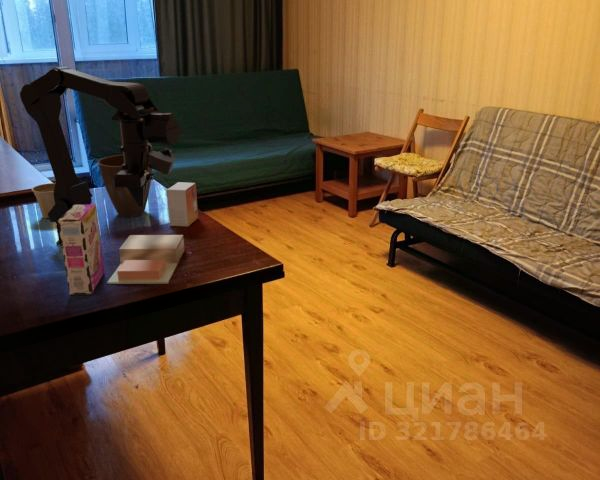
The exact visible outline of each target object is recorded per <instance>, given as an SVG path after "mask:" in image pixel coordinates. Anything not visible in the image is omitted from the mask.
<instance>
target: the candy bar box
mask: <svg viewBox="0 0 600 480" xmlns="http://www.w3.org/2000/svg"><path fill="white" fill-rule="evenodd" d="M97 211H98V210H97V204H95V203H91V204H81V205H73V207H71V208H70V209H69V210H68V211H67V212H66V213H65V214H64V215H63V216H62V217H61V218H60V219H59V220H58V224H59V230H60V237H61V243H62V244H61V248H62V249H61V250H62V254H63V260H64V261H63V262H64V266H65V274H66V282H67V287H68V294H69V295H71V296H72V295H73V296H77V295H78V296H80V295H92V294H94V291H95V290H96V288H97V286H98V284H99V282H100V281H101V279H102V277H103V276H104V274H105V266H104V258H103V250H102V242H101V235H100V233H101V232H100V225H99V219H98V212H97Z"/></svg>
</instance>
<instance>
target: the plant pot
mask: <svg viewBox="0 0 600 480" xmlns="http://www.w3.org/2000/svg"><path fill="white" fill-rule="evenodd" d="M97 164H98V167H99V172H100V175H101V178H102V182H103V185H104V187H105V189H106V190H105V191H106V192H107V194H108V197H109V199H110V201H111V203H112V206H113V208H114V209H115V211H116V213H117V214H118V216H119V217H123V218H133V217H138V216H141V215H143V214H144V213H145V210H146V206H147V202H148V199H149V195H150V189H151V183H152V179H151V180H150V181H149V182H148V185H147V190H146V196H145V202H144V205H143V206H138V204H137V203H136V201H135V200H134V198H133V196H132V195H131V193H130V192H129V190H128V189H127V187H114V186H113V179H112V178H113V177H114V176H115V175H116V174H117V173H118V172H120V171H128V170H122V165H123V164H124V155H123V154H118V155H111V156H107V157H104V158H101V159H98V161H97ZM147 171H148V172H149V174H153V169H151V168H149V170H147Z"/></svg>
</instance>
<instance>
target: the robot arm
mask: <svg viewBox="0 0 600 480" xmlns="http://www.w3.org/2000/svg"><path fill="white" fill-rule="evenodd" d="M68 89H69V90H72V91H76V92H79V93H82V94H84V95H88V96H91V97H94V98H98V99H101V100H102V101H105V103H106V104H107V105H108V106H109V107H112V108H113V109H115V110H116V112H115V113H114V114H113V115H112V116H111V117H110V120H111V121H114V122H119V125H120V135H121V143H122V145H121V146H120V147H119V150H120V151H119V152H120V153H123V154H122V155H124V164H123V165H122V170H128V171H120V172H118V173H117V174H116V175H115V176H114V177H113V178H112V179H113V186H114V187H127V189H128V190H129V192H130V193H131V195H132V196H133V198H134V200H135V201H136V203H137V204H138V206H143V205H144V202H145V196H146V190H147V185H148V182H149V181H150V180H151V181H152V178H154V176H155V173H152V174H149V172H148V171H147V170H149V168H151V169H152V170H154V171H157V172H160V173H161V174H163V175H170V173H172V170H173V168H174V164H175V162H176V159H175V158H176V157H175V156H174V155H173V154H174V153H173V150H172V149H169V148H165V149H163V150H162V152H161V151H158V150H157V151H155V150H154V149H153V145H152V144H161V145H171V146H173V145H175V144H176V143H178V141H179V139H180V135H181V132H180V129H181V128H180V126H179V123H178V121H177V120H176V119H175V117H174V113H172V112H165V113H163V112H160V110H159V108H158V107H157V105H156V104H155V102H153V99H151V97H150V96H149V94H148V90H147V89H146V86H145V85H143V84H141V83H140V82H139V83H138V82H128V81H126V82H125V81H123V82H122V81H111V80H108V79H105V78H101V77H98V76H95V75H92V74H88V73H86V72H81V71H79V70H75V69H72V68H71V67H69V66H59V67H53V68H51V69H50V70H49V71H48V72H46V73H45V74H43V75H41V76H40V77H38V78H37V79H35V80H33V81H31V82H30V83H27V84H24V85H22V88H21V90H20V91H19V98H20V100H21V103H22V105H23V107H24V109H25V111H26V113H27V114H28V115H29V117H31V118H32V119H33V120H34V122H36V125H37V126H38V129H39V132H40V136H41V138H42V143H43V146H44V148H45V152H46V154H47V158H48V160H49V165H50V167H51V170H52V173H53V175H54V176H53V177H54V180H55V182H54V183H55V188H54V193H53V195H54V201H55V205H54V206H53V208H52V209H51V210H50V211H49V213H48V217H49V218H48V219H49V221H50V222H51V223H55V225H56V226H55V227H56V232H57V239H58V240H57V241H56V242H55V243H56V245H62V243H61V237H60V230H59V224H58V220H59V219H60V218H61V217H62V216H63V215H64V214H65V213H66V212H67V211H68V210H69V209H70V208H71V207H73V205H81V204H93V203H92V201H93V200H92V197H93V196H94V195H93V194H92V193H91V190H90V184H89V182H88V181H84V182H83V180H81V179H80V178H79V177H78V176H77V174H76V173H77V172H76V170H75V167H74V164H73V160H72V157H71V154H70V151H69V148H68V147H69V146H68V143H67V140H66V137H65V133H64V131H63V127H62V124H61V121H60V117H61V116H60V115H61V111H62V99H61V97H62V96H63V95H64V94H66V93H67V91H68Z"/></svg>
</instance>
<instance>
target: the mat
mask: <svg viewBox="0 0 600 480" xmlns="http://www.w3.org/2000/svg"><path fill="white" fill-rule="evenodd" d="M121 265H122V264H121V263H120V264H119V266H118V267H117V268H116V270H115V271H114V272H113V274H112V275H111V276H110V277H109V279H108V281H106V282H107V283H106V284H107V285H123V284H124V285H125V284H126V285H133V284H134V285H135V284H136V285H140V284H141V285H142V284H143V285H145V284H146V285H147V284H148V285H153V284H155V285H157V284H159V285H160V284H162V285H163V284H167V285H169V282H170V280H171V278H172V276H173V274H174V272H175V270H176V268H177V267H178V264H177V263H165V265H166V268H165V270H164V272H163V274H162V276H161V278H160V279H126V280H118V274H117V271H118V269H119V268H120V266H121Z"/></svg>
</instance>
